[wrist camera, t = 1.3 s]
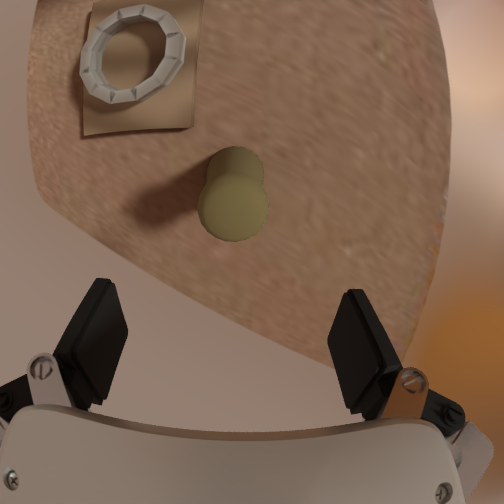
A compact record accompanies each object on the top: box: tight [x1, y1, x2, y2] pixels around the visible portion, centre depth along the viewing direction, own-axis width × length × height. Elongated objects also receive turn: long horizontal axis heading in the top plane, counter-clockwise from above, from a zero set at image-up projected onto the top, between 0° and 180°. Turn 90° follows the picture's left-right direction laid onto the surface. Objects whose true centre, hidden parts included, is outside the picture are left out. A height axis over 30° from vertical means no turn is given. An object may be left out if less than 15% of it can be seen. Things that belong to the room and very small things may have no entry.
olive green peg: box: [198, 146, 269, 242], centre depth 23 cm, size 6×6×11 cm
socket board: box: [79, 0, 204, 136], centre depth 18 cm, size 16×12×4 cm
